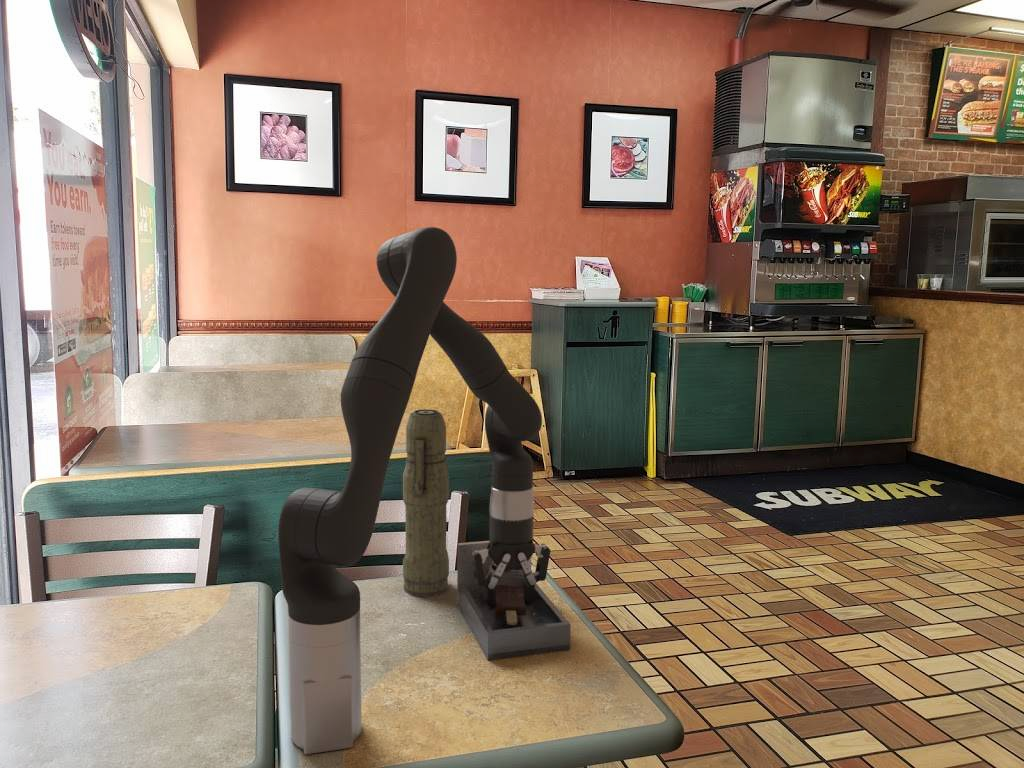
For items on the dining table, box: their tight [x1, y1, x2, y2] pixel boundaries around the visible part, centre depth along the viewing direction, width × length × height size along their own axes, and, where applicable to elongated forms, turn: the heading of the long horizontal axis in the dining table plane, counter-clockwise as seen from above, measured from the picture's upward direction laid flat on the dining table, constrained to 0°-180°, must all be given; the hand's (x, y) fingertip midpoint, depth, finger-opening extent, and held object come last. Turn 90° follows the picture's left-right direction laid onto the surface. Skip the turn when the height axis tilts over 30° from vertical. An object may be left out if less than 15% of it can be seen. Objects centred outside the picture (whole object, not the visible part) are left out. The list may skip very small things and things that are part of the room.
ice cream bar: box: [495, 585, 526, 625], centre depth 140 cm, size 5×2×15 cm
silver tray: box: [456, 540, 572, 661], centre depth 141 cm, size 24×14×12 cm, turn 17°
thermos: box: [402, 408, 450, 597], centre depth 155 cm, size 9×12×35 cm
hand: (510, 605), depth 140 cm, fingers closed on ice cream bar, 6 cm apart
